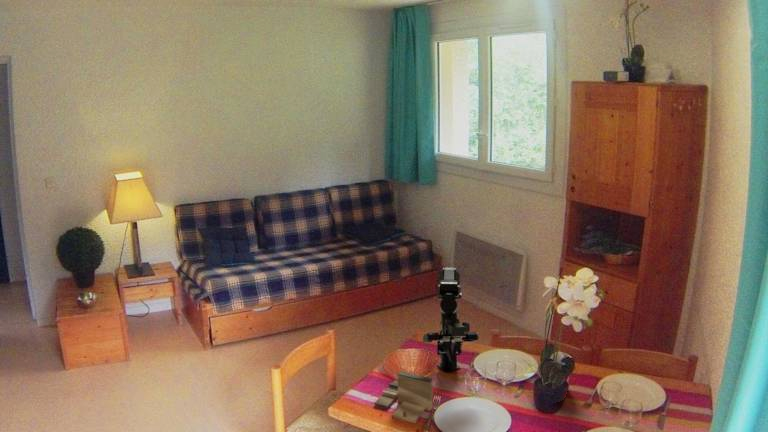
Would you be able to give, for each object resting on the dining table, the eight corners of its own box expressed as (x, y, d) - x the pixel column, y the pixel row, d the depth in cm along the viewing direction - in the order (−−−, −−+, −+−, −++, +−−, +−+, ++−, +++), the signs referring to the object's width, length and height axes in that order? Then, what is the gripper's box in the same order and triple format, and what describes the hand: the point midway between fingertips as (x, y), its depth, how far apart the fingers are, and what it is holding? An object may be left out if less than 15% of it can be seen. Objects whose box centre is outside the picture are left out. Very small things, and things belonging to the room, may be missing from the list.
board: (394, 383, 221) (394, 377, 220) (407, 386, 219) (407, 380, 218) (374, 405, 207) (374, 400, 206) (387, 409, 205) (387, 403, 204)
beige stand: (400, 399, 210) (400, 370, 208) (432, 408, 205) (432, 378, 202) (387, 415, 201) (386, 385, 198) (420, 424, 196) (420, 394, 193)
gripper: (432, 314, 204) (434, 361, 199) (483, 314, 209) (487, 360, 204) (421, 318, 214) (423, 363, 209) (470, 318, 219) (473, 362, 214)
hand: (452, 362), depth 209 cm, fingers closed
